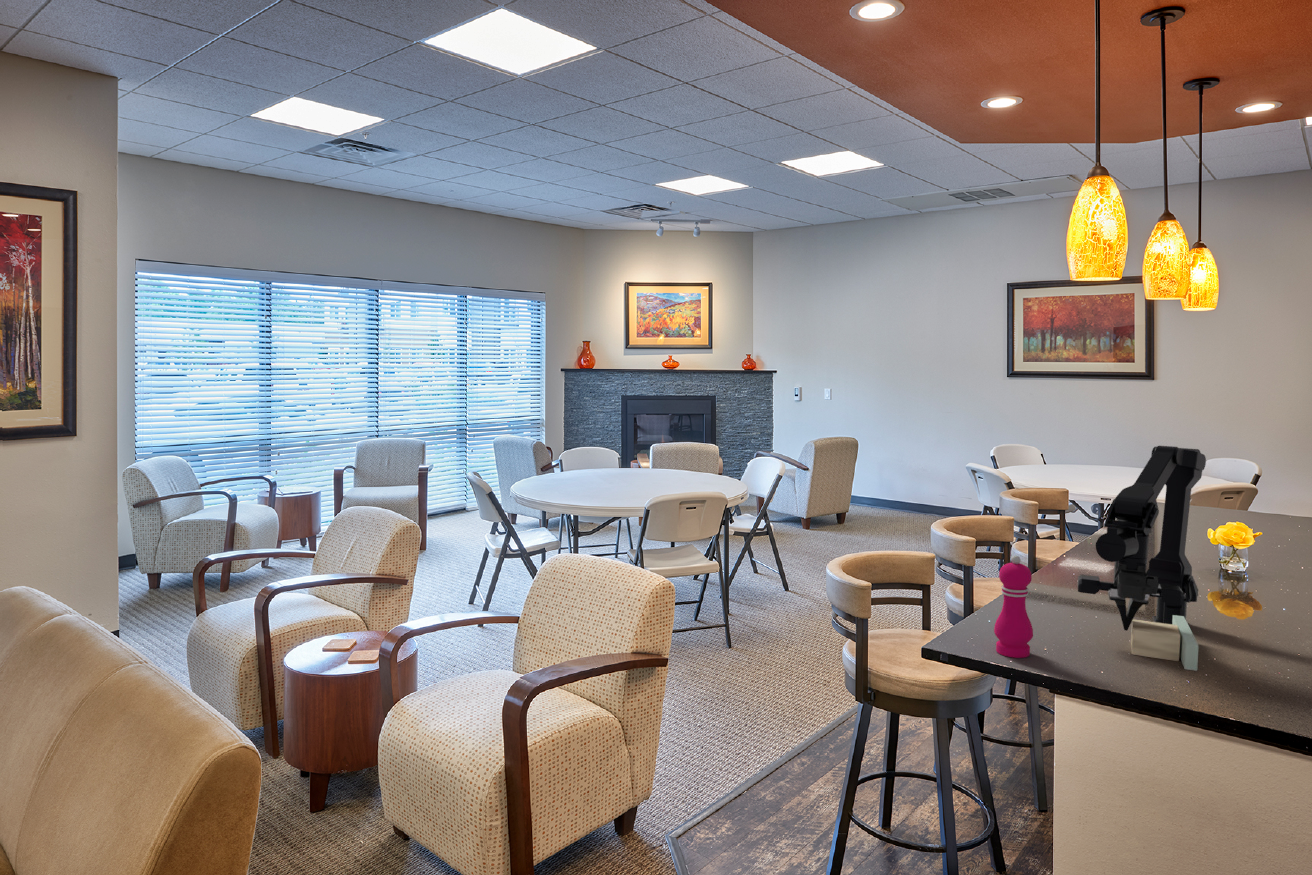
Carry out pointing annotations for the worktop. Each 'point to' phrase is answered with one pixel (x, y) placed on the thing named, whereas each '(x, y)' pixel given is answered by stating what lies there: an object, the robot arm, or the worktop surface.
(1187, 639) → the sage board
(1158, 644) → the maple block
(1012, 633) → the pepper mill
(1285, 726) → the worktop surface
